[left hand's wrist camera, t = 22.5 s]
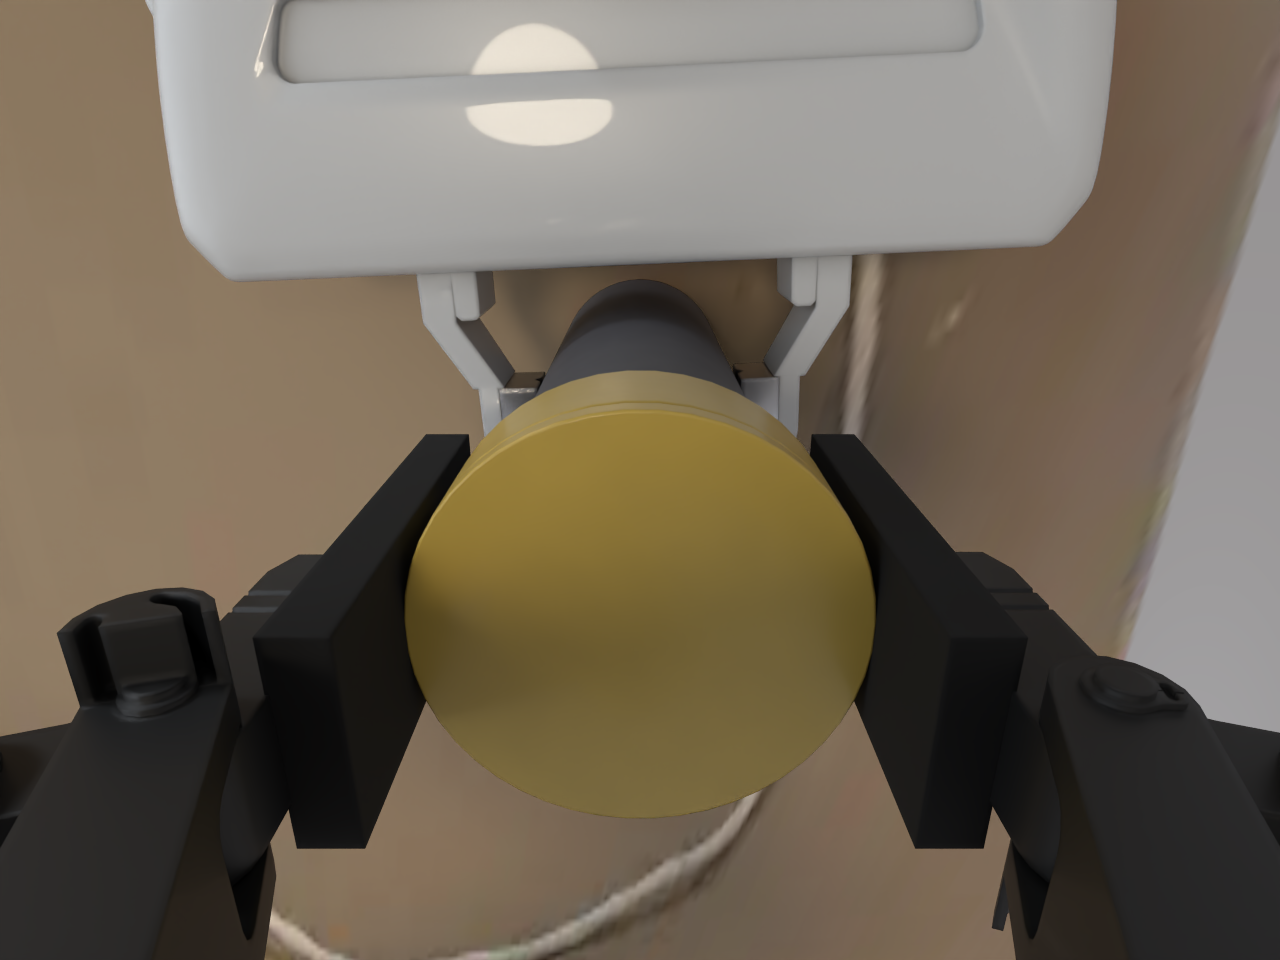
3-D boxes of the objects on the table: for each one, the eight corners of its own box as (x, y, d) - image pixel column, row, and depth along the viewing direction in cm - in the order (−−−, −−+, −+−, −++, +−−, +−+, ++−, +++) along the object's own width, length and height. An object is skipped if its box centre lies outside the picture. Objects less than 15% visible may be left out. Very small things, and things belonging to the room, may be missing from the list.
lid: (539, 293, 10) (516, 318, 8) (916, 480, 11) (973, 541, 9) (386, 638, 12) (337, 723, 10) (718, 773, 13) (732, 874, 11)
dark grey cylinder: (744, 368, 26) (896, 632, 11) (628, 455, 27) (613, 810, 12) (652, 246, 25) (672, 349, 9) (534, 344, 26) (376, 581, 10)
